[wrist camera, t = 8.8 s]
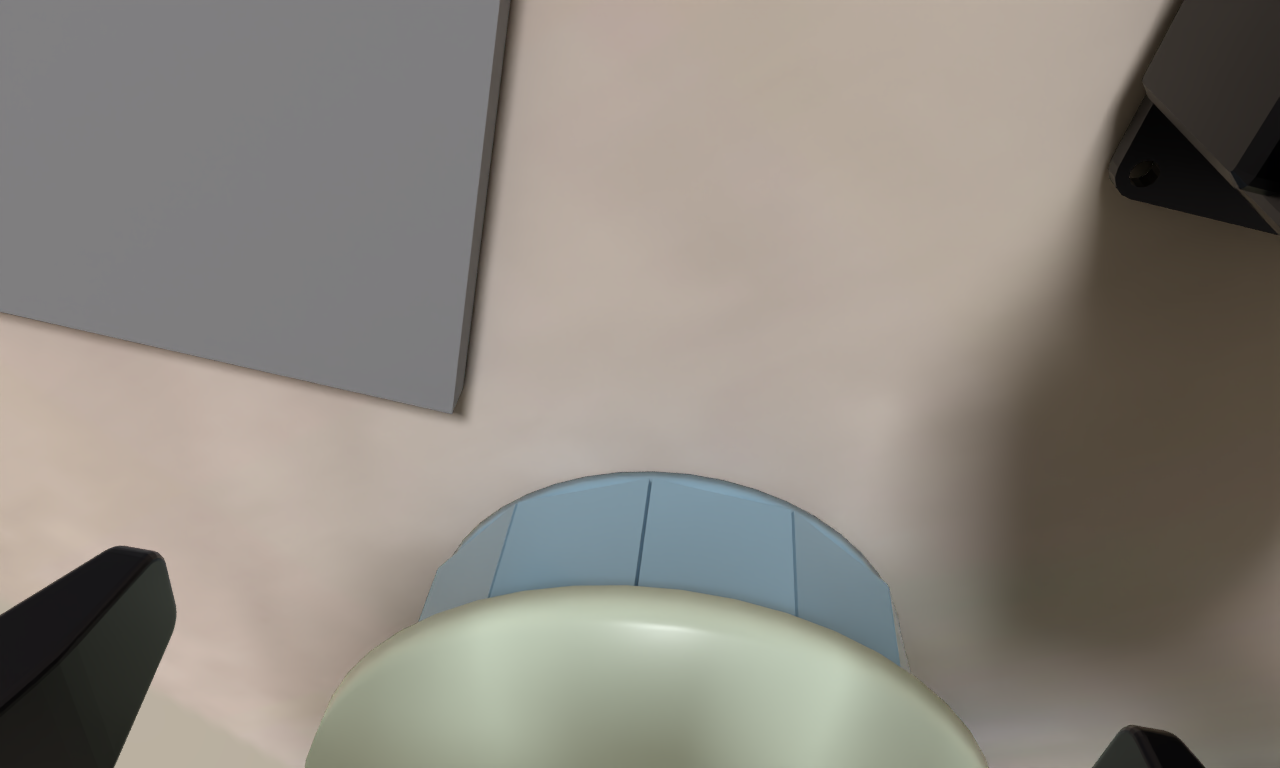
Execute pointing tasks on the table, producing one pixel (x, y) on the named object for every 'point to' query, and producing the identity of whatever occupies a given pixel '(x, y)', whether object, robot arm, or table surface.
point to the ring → (674, 552)
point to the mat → (254, 180)
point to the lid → (632, 691)
